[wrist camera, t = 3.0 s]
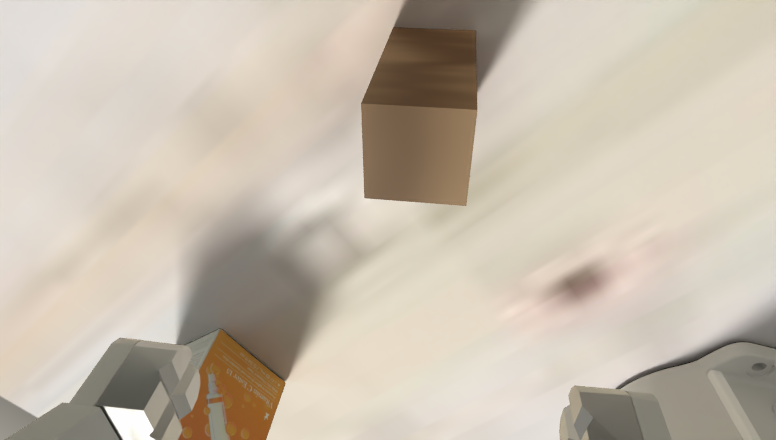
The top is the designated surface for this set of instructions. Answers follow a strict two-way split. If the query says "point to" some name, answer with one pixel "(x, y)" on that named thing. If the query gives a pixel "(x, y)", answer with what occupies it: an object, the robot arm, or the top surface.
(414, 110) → the tall wooden block
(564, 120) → the top surface
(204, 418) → the small box
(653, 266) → the top surface
